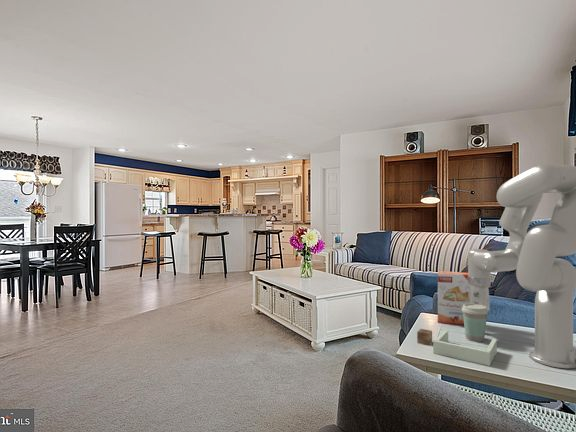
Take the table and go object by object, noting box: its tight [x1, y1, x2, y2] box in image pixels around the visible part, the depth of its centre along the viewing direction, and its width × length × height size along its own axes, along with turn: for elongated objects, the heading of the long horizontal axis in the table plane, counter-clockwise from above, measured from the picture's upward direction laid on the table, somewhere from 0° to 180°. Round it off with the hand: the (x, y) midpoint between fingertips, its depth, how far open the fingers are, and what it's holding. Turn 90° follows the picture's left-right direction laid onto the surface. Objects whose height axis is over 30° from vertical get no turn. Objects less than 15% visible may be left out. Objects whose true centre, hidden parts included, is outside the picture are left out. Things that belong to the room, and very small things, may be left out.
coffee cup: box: [462, 303, 489, 343], centre depth 129 cm, size 8×8×12 cm
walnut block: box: [416, 328, 433, 346], centre depth 126 cm, size 4×4×4 cm
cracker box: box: [437, 270, 471, 326], centre depth 147 cm, size 14×6×21 cm, turn 67°
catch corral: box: [432, 329, 498, 367], centre depth 117 cm, size 16×14×4 cm
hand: (479, 329), depth 135 cm, fingers closed
